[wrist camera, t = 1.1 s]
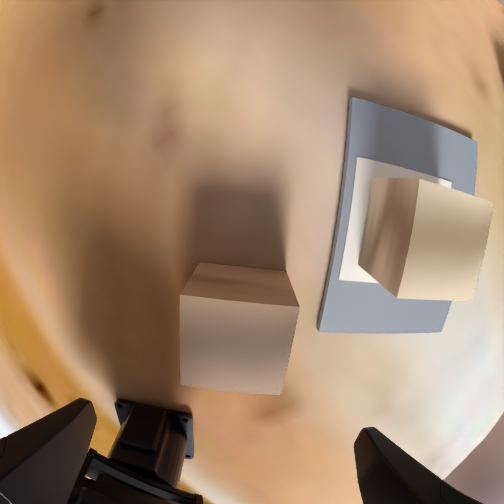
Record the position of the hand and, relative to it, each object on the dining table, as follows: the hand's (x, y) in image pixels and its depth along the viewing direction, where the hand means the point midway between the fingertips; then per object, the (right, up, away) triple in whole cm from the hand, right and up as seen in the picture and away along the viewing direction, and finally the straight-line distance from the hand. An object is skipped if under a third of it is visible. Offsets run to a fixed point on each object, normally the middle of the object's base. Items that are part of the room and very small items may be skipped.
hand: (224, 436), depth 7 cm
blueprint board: (+11, +7, +8) cm, 15 cm away
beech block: (+10, +7, +8) cm, 14 cm away
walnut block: (0, +2, +10) cm, 10 cm away
